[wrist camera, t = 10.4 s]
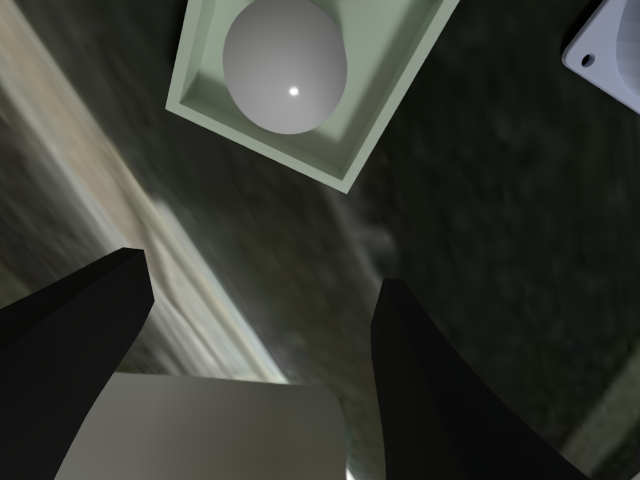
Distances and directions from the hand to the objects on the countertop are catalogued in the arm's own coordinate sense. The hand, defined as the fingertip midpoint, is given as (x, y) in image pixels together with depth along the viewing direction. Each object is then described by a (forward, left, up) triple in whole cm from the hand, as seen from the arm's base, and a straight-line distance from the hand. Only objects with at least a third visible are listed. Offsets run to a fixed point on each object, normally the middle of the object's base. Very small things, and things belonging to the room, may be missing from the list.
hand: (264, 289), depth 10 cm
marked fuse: (+2, -6, -9) cm, 11 cm away
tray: (+2, -6, -9) cm, 11 cm away
